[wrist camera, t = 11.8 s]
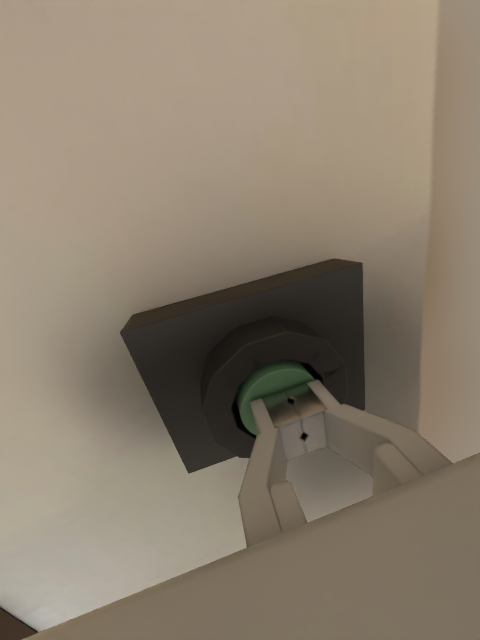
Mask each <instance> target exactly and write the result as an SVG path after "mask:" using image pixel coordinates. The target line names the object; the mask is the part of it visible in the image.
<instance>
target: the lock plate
mask: <svg viewBox="0 0 480 640" xmlns="http://www.w3.org/2000/svg"><path fill="white" fill-rule="evenodd" d="M34 634H37V632H35V631H34V630H32V629H31V628H29V627H28V626H26V625H25V624H23V623H22V622H20V621H19V620H17V619H16V618H14V617H13V616H11V615H9V614H8V613H6V612H5V611H3V610H2V609H0V640H22V639H25V638H27V637H29V636H32V635H34Z"/></svg>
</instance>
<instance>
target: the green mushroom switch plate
mask: <svg viewBox="0 0 480 640" xmlns="http://www.w3.org/2000/svg"><path fill="white" fill-rule="evenodd" d="M120 334H121V336H122V338H123V340H124V342H125V344H126V346H127V348H128V350H129V352H130V354H131V356H132V358H133V360H134V362H135V364H136V367H137V369H138V371H139V373H140V375H141V377H142V379H143V381H144V383H145V385H146V387H147V389H148V391H149V393H150V395H151V397H152V399H153V401H154V403H155V406H156V408H157V410H158V412H159V414H160V416H161V418H162V420H163V422H164V424H165V426H166V428H167V430H168V432H169V434H170V436H171V438H172V440H173V442H174V445H175V447H176V449H177V451H178V453H179V455H180V457H181V459H182V461H183V463H184V465H185V467H186V469H187V471H188V473H192V472H195V471H197V470H200V469H203V468H206V467H208V466H211V465H214V464H217V463H219V462H222V461H225V460H228V459H230V458H233V457H236V456H238V457H239V458H240V457H241V458H250V456H251V453H252V450H253V446H254V443H255V440H256V437H257V435H255V434H253V433H251V432H250V431H249V430H248V429H247V428H246V427H245V426H244V424H243V422H242V420H241V417H240V413H239V409H238V406H237V402H236V399H235V395H236V392H237V389H238V386H239V385H240V384H241V383H242V382H243V381H244V380H246V379H247V378H248V377H249V376H250V375H251V374H252V373H253V372H254V371H255V370H256V369H257V368H258V367H262V366H265V365H268V364H271V363H274V362H277V361H280V360H283V359H287V360H292V361H298V362H300V363H301V364H302V365H303V366H304V368H305V369H306V370H307V371H308V372H309V373H310V374H311V376H312V377H313V378H314V379H315V380H316V379H317V380H319V381H320V382H321V383H322V384H323V386H324V387H325V388H326V389H327V390H328V391H329V392H330V393H331V394H332V396H333V397H334V398H335V399H336V400H337V401H338V402H339V403H340V404H341V405H342V404H347V405H349V406H352V407H355V408H357V409H360V410H365V377H364V324H363V271H362V263H360V262H353V261H347V260H340V259H331V260H327V261H324V262H320V263H317V264H313V265H309V266H306V267H302V268H299V269H295V270H292V271H288V272H285V273H281V274H277V275H274V276H270V277H267V278H263V279H260V280H256V281H252V282H249V283H245V284H242V285H238V286H235V287H231V288H228V289H224V290H220V291H217V292H213V293H210V294H206V295H203V296H199V297H195V298H192V299H188V300H185V301H181V302H178V303H174V304H171V305H167V306H163V307H160V308H156V309H153V310H149V311H146V312H142V313H138V314H135V315H132V317H131V318H130V319H129V321H128V322H127V323H126V325H125V326H124V328H123V329H122V330H121V332H120Z"/></svg>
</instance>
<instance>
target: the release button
mask: <svg viewBox="0 0 480 640" xmlns="http://www.w3.org/2000/svg"><path fill="white" fill-rule="evenodd" d="M313 380H315V379H314V378H313V377H312V376H311V374H310V373H309V372H308V371H307V370H306V369H305V368H304V366H303V365H302V364H301V363H300V362H298V361H292V360H287V359H283V360H280V361H277V362H274V363H271V364H268V365H265V366H262V367H258V368H257V369H256V370H255V371H254V372H253V373H252V374H251V375H250V376H249V377H248V378H247V379H246V380H244V381H243V382H242V383H241V384H240V385H239V386H238V389H237V392H236V395H235V399H236V402H237V406H238V409H239V413H240V417H241V420H242V422H243V424H244V426H245V427H246V428H247V429H248V430H249V431H250V432H251V433H253V434H255V435H257V434H258V431H257V428H256V425H255V421H254V417H253V414H252V410H251V406H250V401H253V400H257V399H260V398H262V397H266V396H269V395H272V394H275V393H278V392H282V391H285V390H287V389H290V388H293V387H296V386H299V385H302V384H305V383H307V382H310V381H313Z"/></svg>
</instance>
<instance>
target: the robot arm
mask: <svg viewBox="0 0 480 640" xmlns="http://www.w3.org/2000/svg"><path fill="white" fill-rule="evenodd" d="M250 406H251V410H252V414H253V417H254V421H255V425H256V428H257V431H258V434H257V437H256V440H255V443H254V446H253V450H252V453H251V456H250V459H249V463H248V466H247V469H246V472H245V476H244V479H243V482H242V485H241V489H240V492H239V495H238V499H239V505H240V510H241V516H242V522H243V527H244V533H245V538H246V544H247V548H245V549H243V550H240V551H238V552H236V553H233V554H231V555H228V556H226V557H223V558H221V559H218V560H216V561H213V562H211V563H209V564H206V565H204V566H201V567H199V568H196V569H194V570H191V571H189V572H187V573H184V574H182V575H179V576H177V577H174V578H172V579H169V580H167V581H165V582H162V583H160V584H157V585H155V586H152V587H150V588H147V589H145V590H142V591H140V592H138V593H135V594H133V595H130V596H128V597H125V598H123V599H120V600H118V601H115V602H113V603H111V604H108V605H106V606H103V607H101V608H98V609H96V610H93V611H91V612H88V613H86V614H84V615H81V616H79V617H76V618H74V619H71V620H69V621H66V622H64V623H61V624H59V625H56V626H54V627H52V628H49V629H47V630H44V631H42V632H39V633H37V634H34V635H32V636H29V637H27V638H25V639H22V640H480V453H478V454H476V455H473V456H471V457H468V458H466V459H463V460H461V461H458V462H456V463H452V462H450V461H449V460H448V459H447V458H446V457H445V456H443V454H441V453H440V452H439V451H438V450H437V449H436V448H434V447H433V446H432V445H431V444H430V443H429V442H428V441H426V440H425V439H424V438H423V437H422V436H421V435H420V434H418V433H417V432H416V431H415V430H413V429H410V428H408V427H405V426H402V425H400V424H397V423H394V422H392V421H389V420H386V419H384V418H381V417H378V416H376V415H373V414H370V413H368V412H365V411H363V410H360V409H357V408H355V407H352V406H349V405H347V404H342V405H341V404H340V403H339V402H338V401H337V400H336V399H335V398H334V397H333V396H332V394H331V393H330V392H329V391H328V390H327V389H326V388H325V387H324V386H323V384H322V383H321V382H320V381H319V380H317V379H316V380H313V381H310V382H307V383H305V384H302V385H299V386H296V387H293V388H290V389H287V390H285V391H282V392H278V393H275V394H272V395H269V396H266V397H262V398H260V399H257V400H253V401H250ZM327 446H328V448H330V449H331V450H333V451H334V452H336V453H337V454H339V455H340V456H342V457H343V458H345V459H346V460H348V461H349V462H351V463H352V464H354V465H355V466H357V467H358V468H360V469H362V470H363V471H365V472H366V473H368V474H369V475H371V476H372V477H373V496H372V497H370V498H368V499H365V500H363V501H360V502H358V503H355V504H353V505H350V506H348V507H346V508H343V509H341V510H338V511H336V512H333V513H331V514H329V515H326V516H324V517H321V518H319V519H316V520H314V521H311V522H309V523H308V522H307V520H306V517H305V515H304V513H303V510H302V508H301V506H300V503H299V501H298V498H297V496H296V494H295V491H294V489H293V487H292V484H291V483H290V482H288V481H285V478H286V469H287V461H289V460H292V459H294V458H297V457H299V456H301V455H304V454H306V453H309V452H312V451H315V450H318V449H321V448H324V447H327Z"/></svg>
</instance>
